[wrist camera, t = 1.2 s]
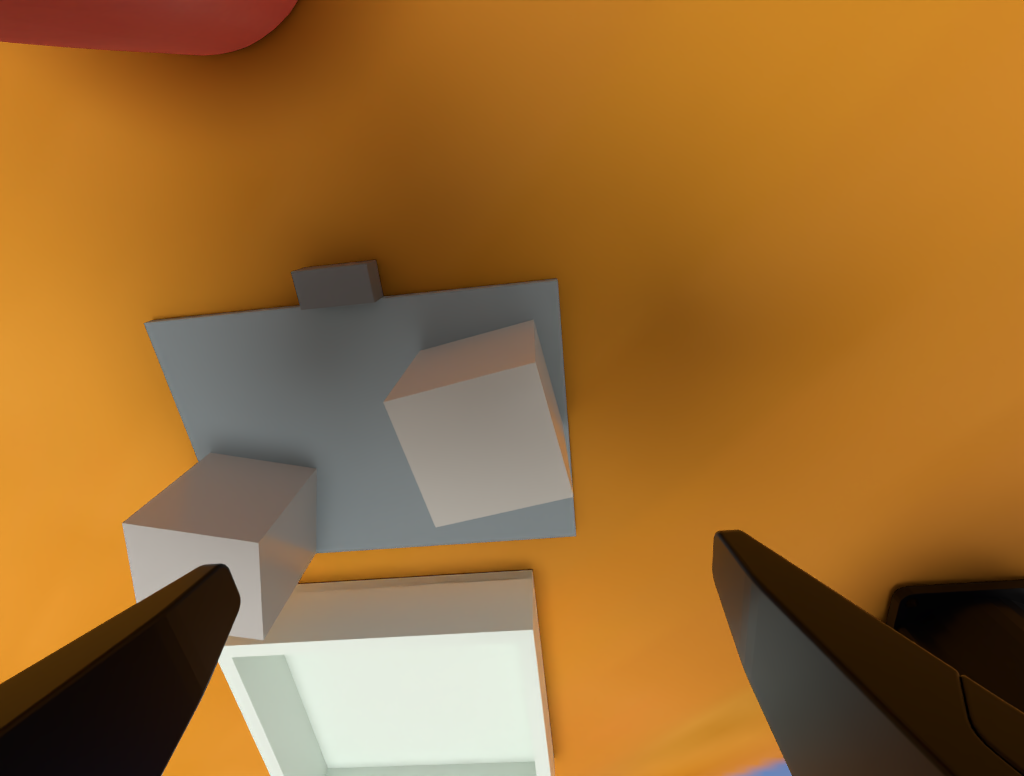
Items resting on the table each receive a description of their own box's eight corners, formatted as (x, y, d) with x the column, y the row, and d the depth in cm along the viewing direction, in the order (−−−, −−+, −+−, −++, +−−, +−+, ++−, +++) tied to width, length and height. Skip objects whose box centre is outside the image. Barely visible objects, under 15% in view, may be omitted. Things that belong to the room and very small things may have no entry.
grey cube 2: (316, 468, 18) (258, 542, 14) (316, 552, 20) (263, 640, 16) (210, 452, 18) (122, 523, 14) (218, 537, 19) (140, 623, 16)
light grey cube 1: (533, 319, 16) (535, 362, 12) (562, 425, 17) (573, 496, 13) (419, 350, 16) (383, 402, 12) (457, 451, 18) (435, 527, 14)
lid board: (554, 240, 15) (556, 243, 14) (575, 529, 19) (577, 546, 18) (138, 285, 16) (115, 290, 15) (242, 551, 20) (228, 568, 19)
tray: (532, 569, 20) (532, 629, 17) (554, 757, 24) (557, 829, 22) (253, 586, 21) (211, 646, 18) (323, 765, 25) (298, 835, 23)
